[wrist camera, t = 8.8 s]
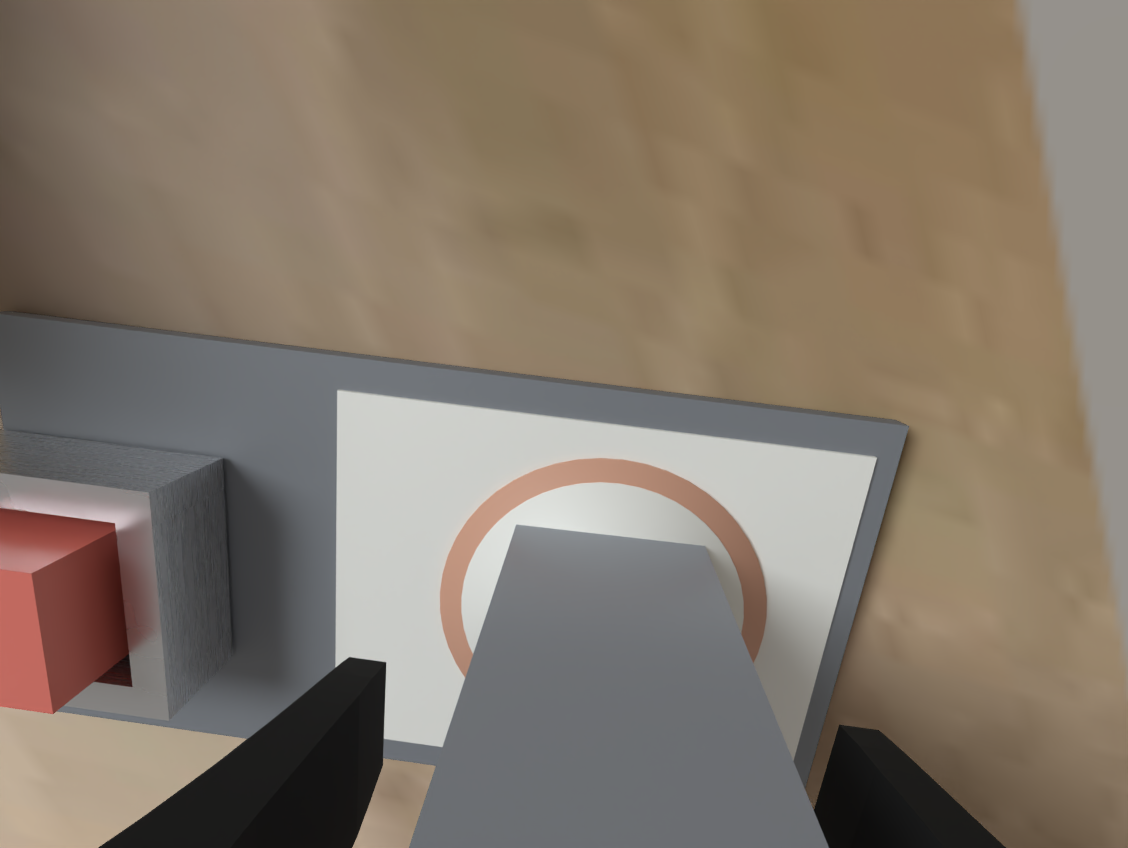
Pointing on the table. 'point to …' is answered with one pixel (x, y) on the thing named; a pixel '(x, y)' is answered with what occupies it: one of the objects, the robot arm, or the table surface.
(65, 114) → the table surface
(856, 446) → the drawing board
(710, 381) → the table surface
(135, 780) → the table surface
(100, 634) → the button
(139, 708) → the button frame
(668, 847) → the block
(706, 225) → the table surface
